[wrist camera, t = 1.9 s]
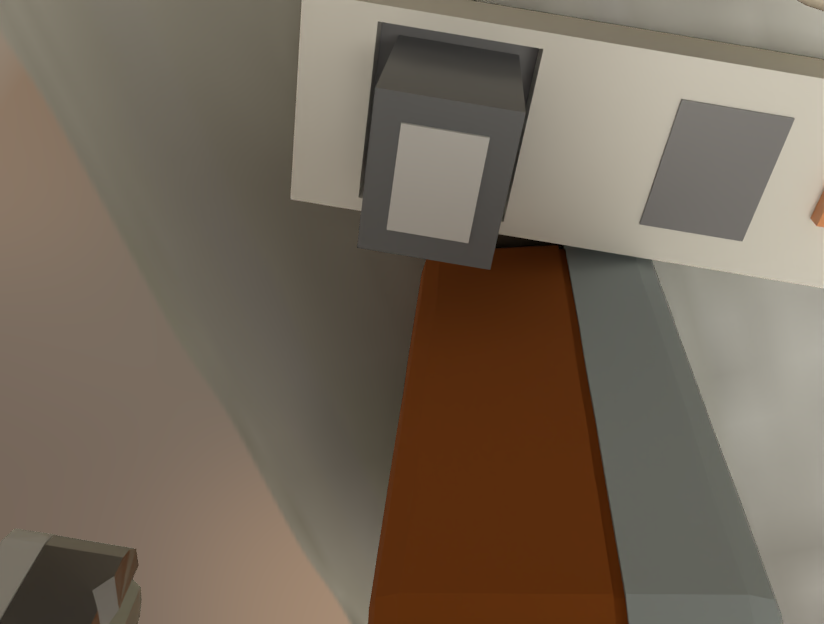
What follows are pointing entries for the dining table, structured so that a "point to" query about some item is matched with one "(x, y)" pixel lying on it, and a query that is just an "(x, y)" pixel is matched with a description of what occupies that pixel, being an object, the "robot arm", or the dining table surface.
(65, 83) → the dining table surface
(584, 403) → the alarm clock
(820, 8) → the planter
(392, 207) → the block
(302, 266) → the dining table surface
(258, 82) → the dining table surface
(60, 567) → the robot arm
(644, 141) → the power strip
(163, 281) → the dining table surface
